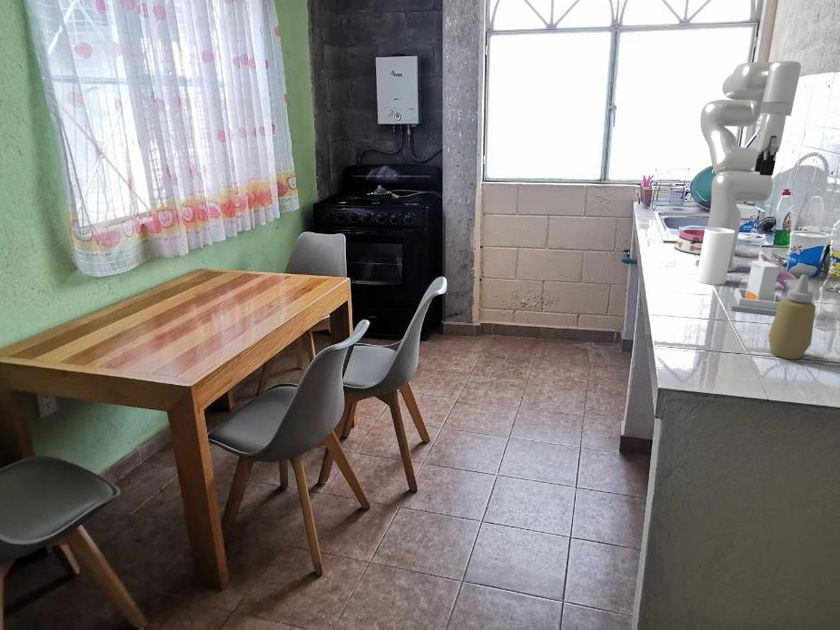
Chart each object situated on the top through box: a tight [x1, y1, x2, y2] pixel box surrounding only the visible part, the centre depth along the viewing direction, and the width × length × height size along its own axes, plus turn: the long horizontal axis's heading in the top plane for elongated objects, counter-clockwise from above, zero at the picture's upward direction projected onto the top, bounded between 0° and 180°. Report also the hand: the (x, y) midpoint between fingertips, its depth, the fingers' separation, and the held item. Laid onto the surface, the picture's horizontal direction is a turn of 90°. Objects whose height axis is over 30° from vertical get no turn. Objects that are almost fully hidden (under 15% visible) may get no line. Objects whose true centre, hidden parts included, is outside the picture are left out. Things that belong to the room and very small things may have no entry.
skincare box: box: [745, 260, 779, 302], centre depth 163 cm, size 6×4×12 cm
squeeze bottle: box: [768, 274, 816, 360], centre depth 129 cm, size 8×8×18 cm
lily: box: [760, 253, 797, 291], centre depth 181 cm, size 12×12×10 cm
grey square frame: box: [725, 287, 784, 317], centre depth 164 cm, size 14×14×3 cm
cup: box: [695, 227, 735, 286], centre depth 185 cm, size 8×8×16 cm
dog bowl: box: [674, 228, 705, 256], centre depth 227 cm, size 18×19×7 cm
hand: (763, 173), depth 172 cm, fingers open, 9 cm apart
